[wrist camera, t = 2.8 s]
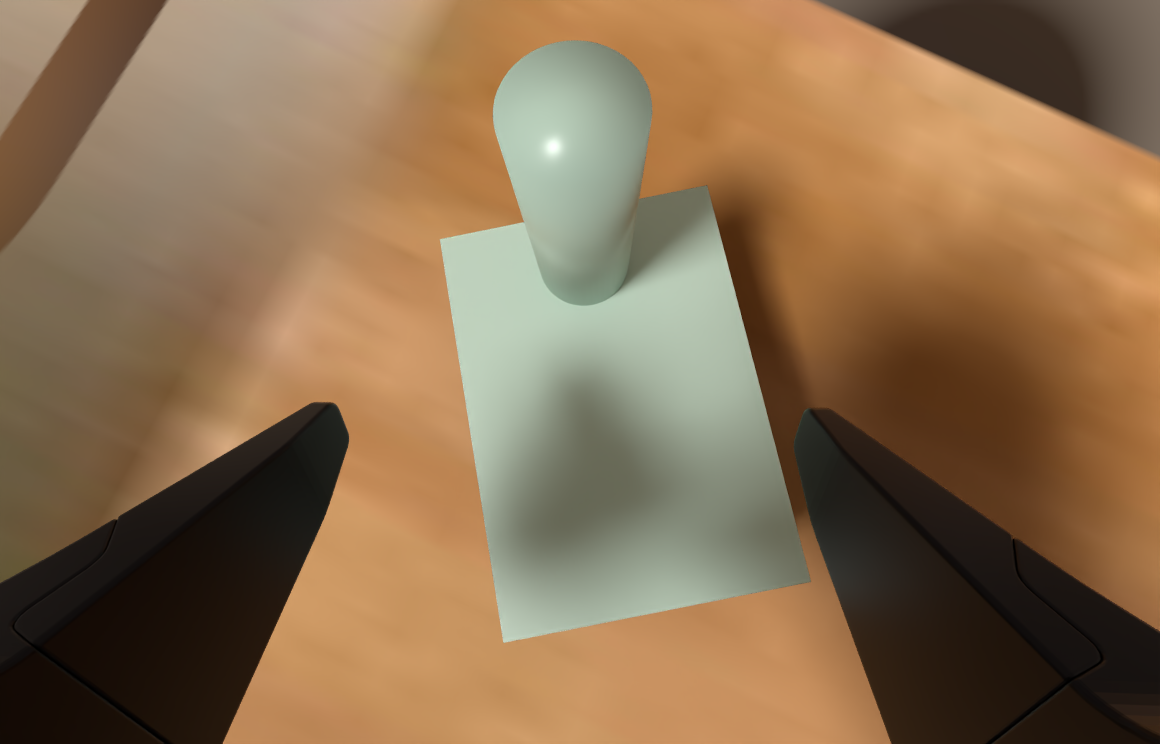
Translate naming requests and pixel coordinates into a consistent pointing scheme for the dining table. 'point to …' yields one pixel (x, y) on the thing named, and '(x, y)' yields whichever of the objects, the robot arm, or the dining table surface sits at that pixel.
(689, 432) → the pale green stand
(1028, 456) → the dining table surface
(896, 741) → the robot arm
